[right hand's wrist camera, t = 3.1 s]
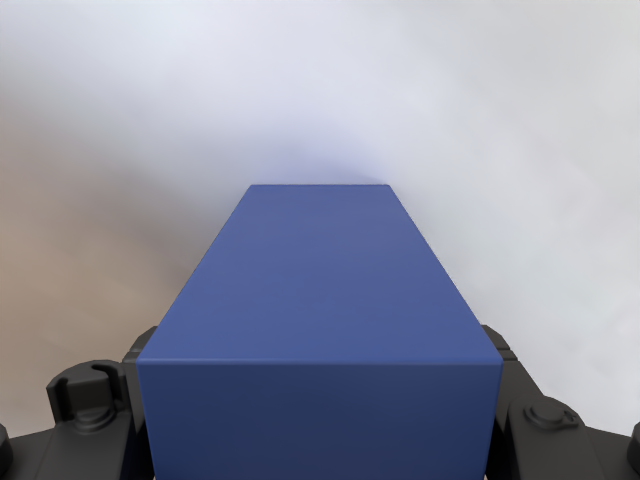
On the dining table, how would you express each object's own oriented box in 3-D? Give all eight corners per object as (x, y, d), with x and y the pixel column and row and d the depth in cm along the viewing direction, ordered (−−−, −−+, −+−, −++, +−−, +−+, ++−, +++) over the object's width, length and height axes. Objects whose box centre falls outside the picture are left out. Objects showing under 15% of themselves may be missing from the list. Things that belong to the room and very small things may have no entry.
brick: (389, 184, 16) (507, 360, 6) (381, 326, 18) (459, 634, 8) (250, 184, 16) (132, 360, 6) (258, 326, 18) (180, 635, 8)
